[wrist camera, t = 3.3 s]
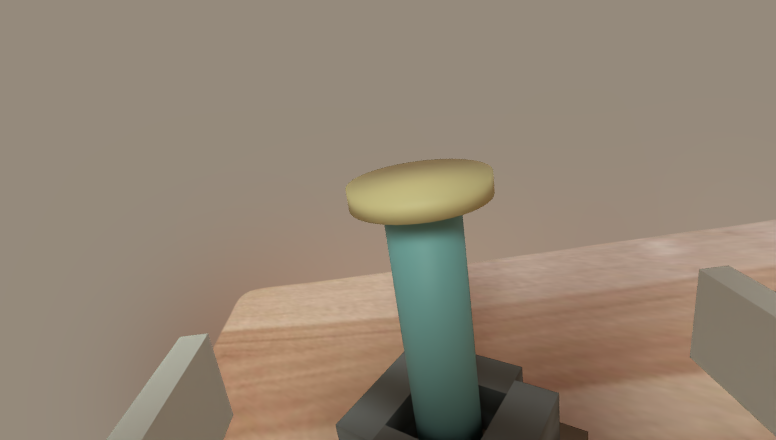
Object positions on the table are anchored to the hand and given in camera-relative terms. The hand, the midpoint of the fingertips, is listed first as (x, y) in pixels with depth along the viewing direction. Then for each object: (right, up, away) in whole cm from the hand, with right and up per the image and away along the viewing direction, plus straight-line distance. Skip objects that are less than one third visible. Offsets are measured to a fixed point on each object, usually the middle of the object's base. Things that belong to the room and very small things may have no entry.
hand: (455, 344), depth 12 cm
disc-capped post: (+3, -13, +19) cm, 23 cm away
